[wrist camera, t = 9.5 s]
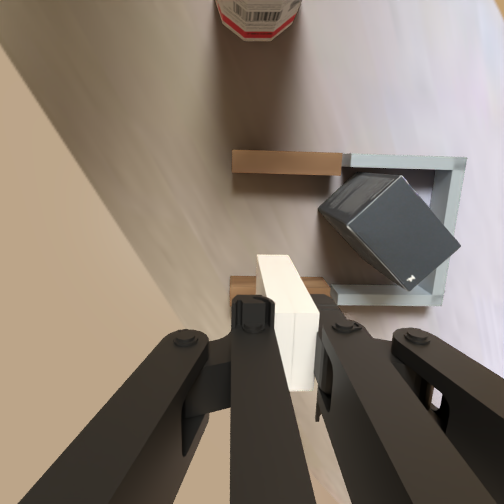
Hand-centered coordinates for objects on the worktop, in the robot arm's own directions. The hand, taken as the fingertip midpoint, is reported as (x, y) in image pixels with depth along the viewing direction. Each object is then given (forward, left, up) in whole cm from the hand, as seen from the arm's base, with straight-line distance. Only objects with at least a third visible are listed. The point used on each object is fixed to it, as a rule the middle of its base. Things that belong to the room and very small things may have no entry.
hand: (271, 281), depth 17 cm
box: (0, +11, -21) cm, 24 cm away
